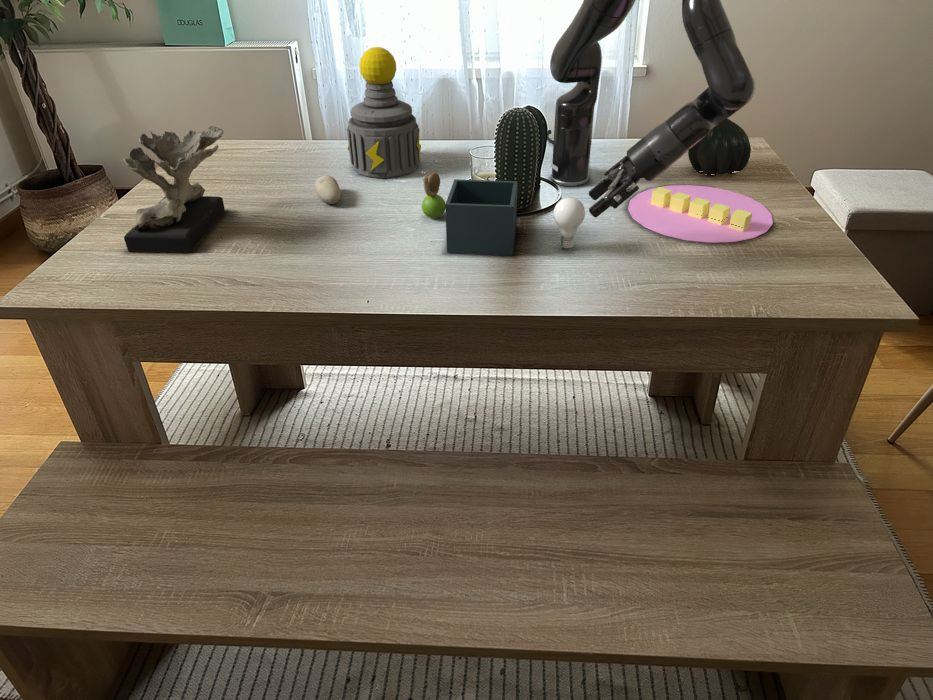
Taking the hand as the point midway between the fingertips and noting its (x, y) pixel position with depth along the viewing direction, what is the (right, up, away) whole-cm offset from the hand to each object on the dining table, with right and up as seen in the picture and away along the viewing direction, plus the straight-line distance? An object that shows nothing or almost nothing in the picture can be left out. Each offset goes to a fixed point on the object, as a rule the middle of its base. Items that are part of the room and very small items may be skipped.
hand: (591, 205), depth 141 cm
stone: (-58, +7, +29) cm, 66 cm away
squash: (+39, +17, +41) cm, 59 cm away
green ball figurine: (-33, +1, +19) cm, 38 cm away
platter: (+28, +2, +20) cm, 35 cm away
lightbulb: (-4, -8, +6) cm, 11 cm away
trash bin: (-22, -5, +10) cm, 24 cm away
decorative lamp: (-47, +20, +47) cm, 69 cm away
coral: (-86, -2, +17) cm, 88 cm away
